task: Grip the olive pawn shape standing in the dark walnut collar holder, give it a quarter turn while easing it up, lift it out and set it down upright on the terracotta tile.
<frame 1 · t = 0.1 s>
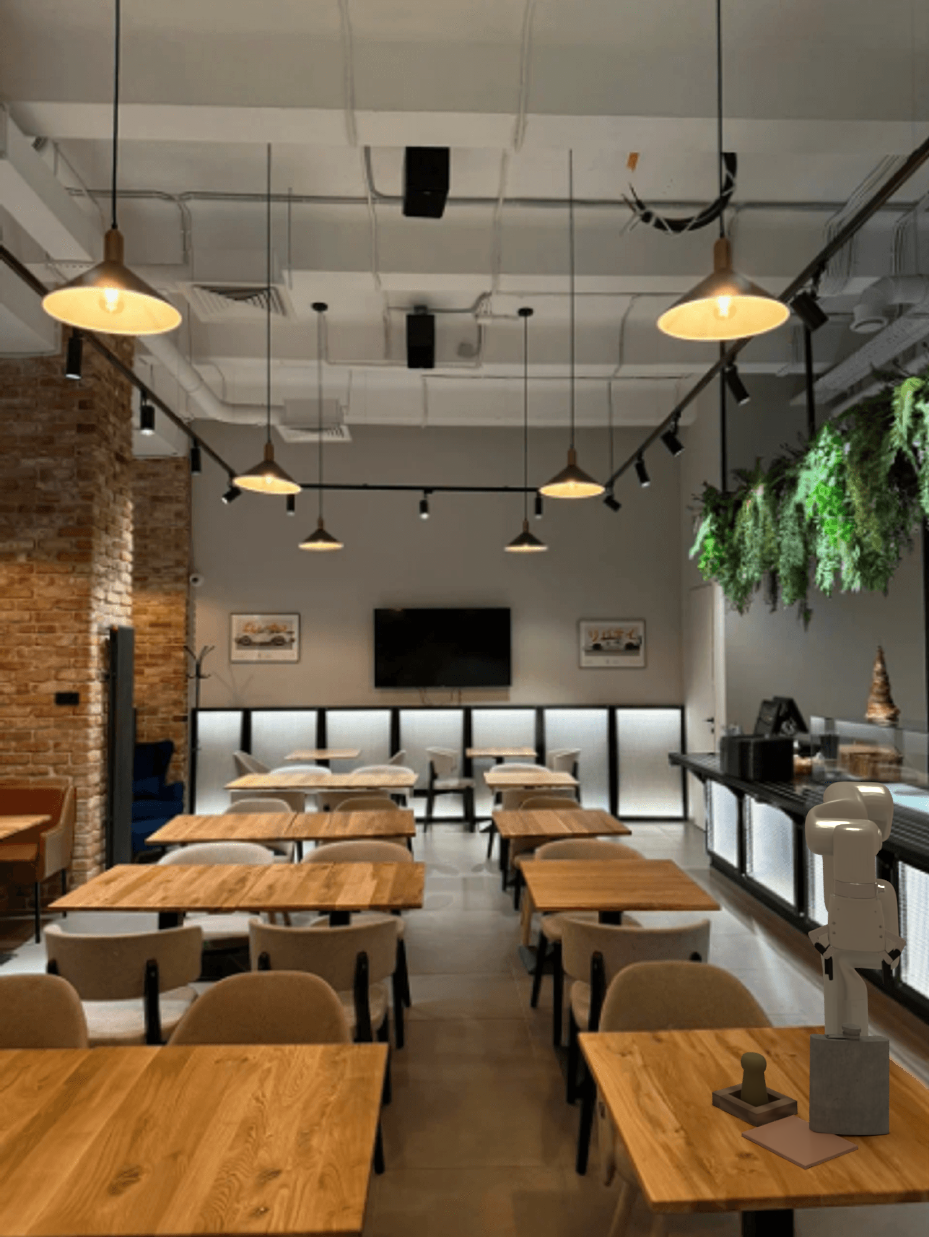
hand: (857, 980, 179), 31 cm above the table, tool pointing down, fingers open, 9 cm apart
terracotta tile: (799, 1142, 180), on the table
olive pawn shape: (754, 1109, 195), resting in collar holder
hip flask: (850, 1131, 184), on the table, touching terracotta tile
collar holder: (754, 1108, 195), on the table
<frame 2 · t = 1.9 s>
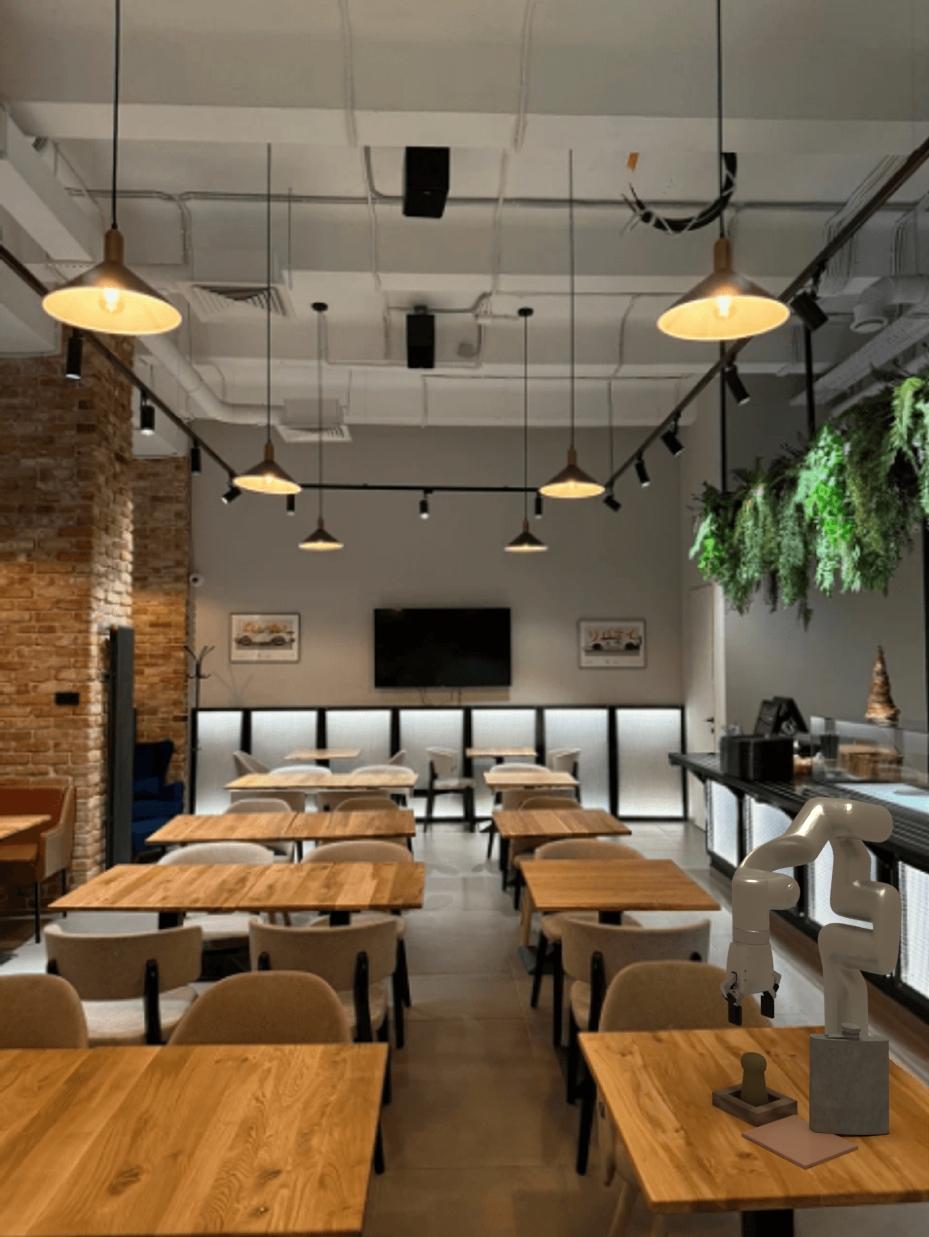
hand: (751, 1020, 196), 18 cm above the table, tool pointing down, fingers open, 9 cm apart
nothing on the table moved.
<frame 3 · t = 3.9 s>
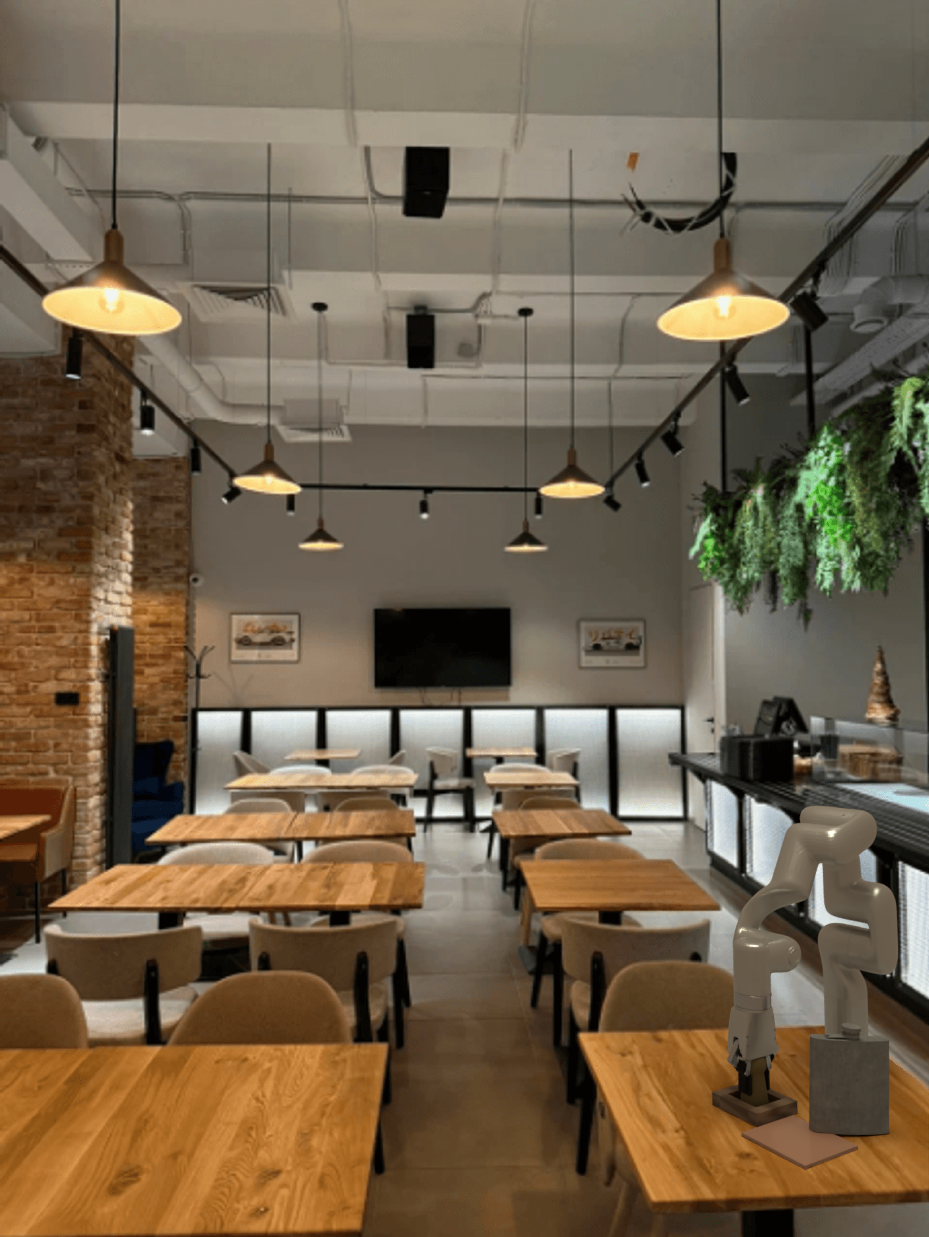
hand: (754, 1089, 195), 4 cm above the table, tool pointing down, fingers closed on olive pawn shape, 4 cm apart
olive pawn shape: (754, 1109, 195), resting in collar holder, touching gripper
everything else where it was.
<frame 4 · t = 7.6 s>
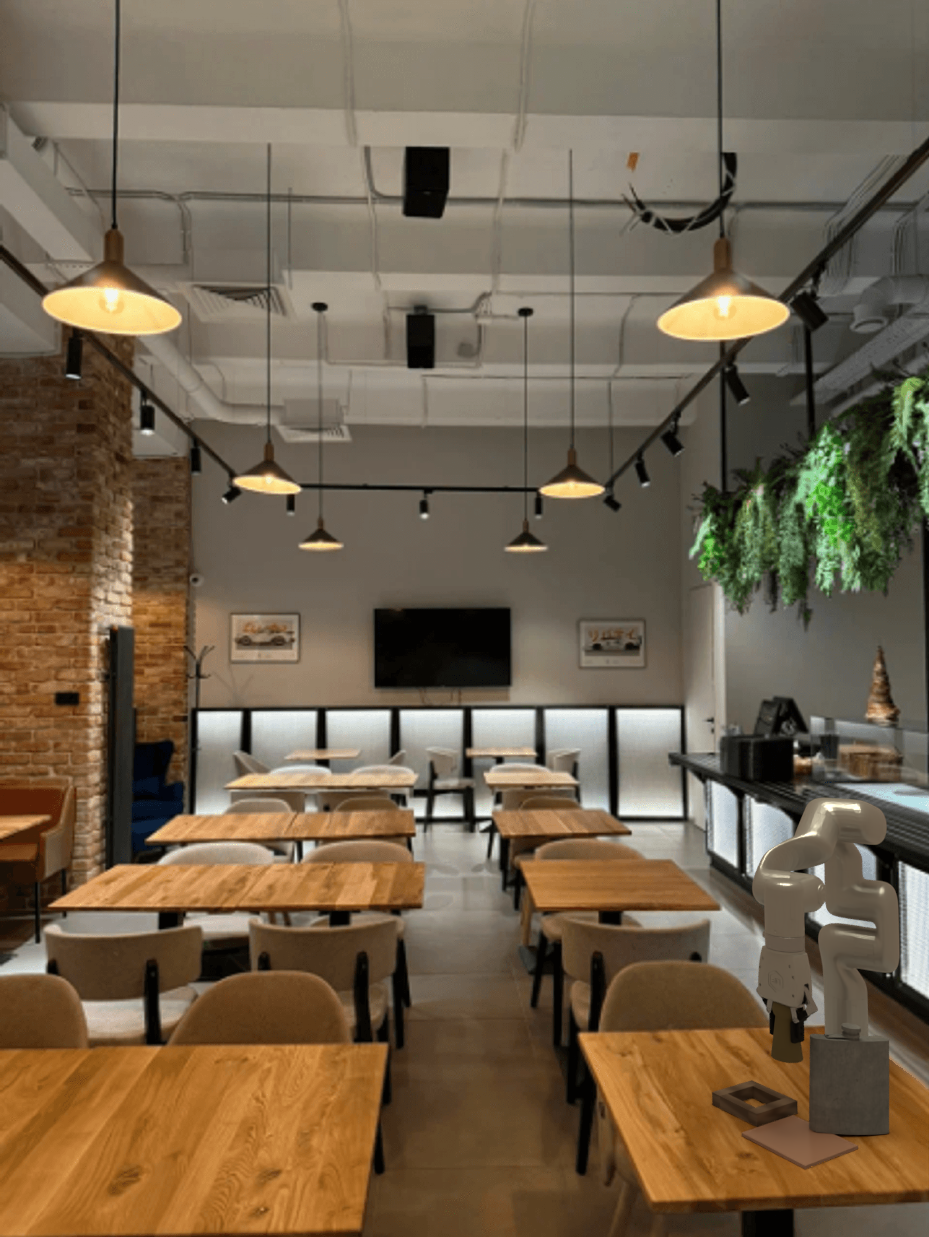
hand: (786, 1036, 185), 19 cm above the table, tool pointing down, fingers closed on olive pawn shape, 4 cm apart
olive pawn shape: (786, 1058, 184), point 15 cm above the table, touching gripper
everything else where it was.
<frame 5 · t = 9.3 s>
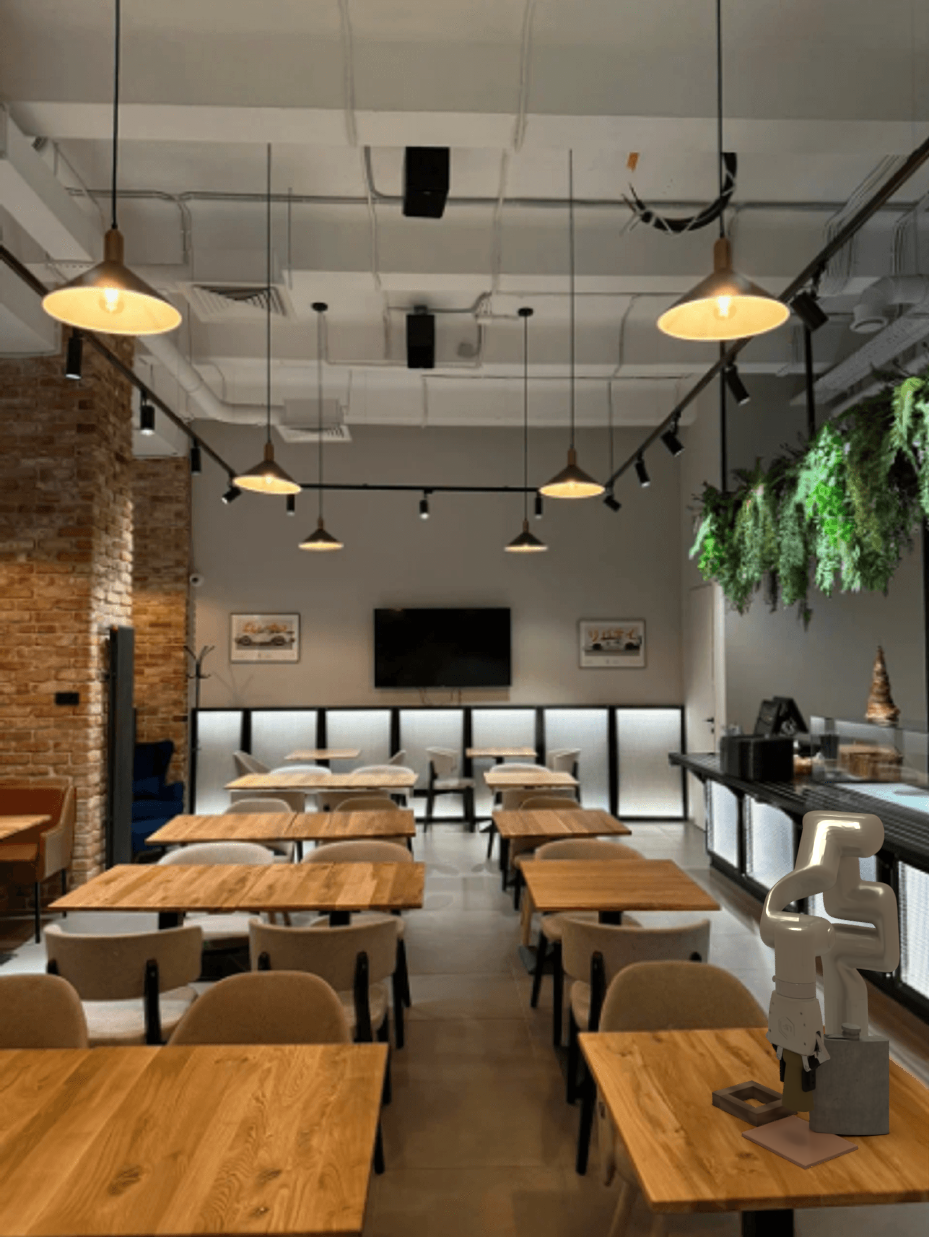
hand: (797, 1084, 181), 11 cm above the table, tool pointing down, fingers closed on olive pawn shape, 4 cm apart
olive pawn shape: (797, 1106, 181), point 7 cm above the table, touching gripper
everything else where it was.
when the fingers open (6 cm above the table, at t = 11.0 s): olive pawn shape drops 1 cm, resting on terracotta tile.
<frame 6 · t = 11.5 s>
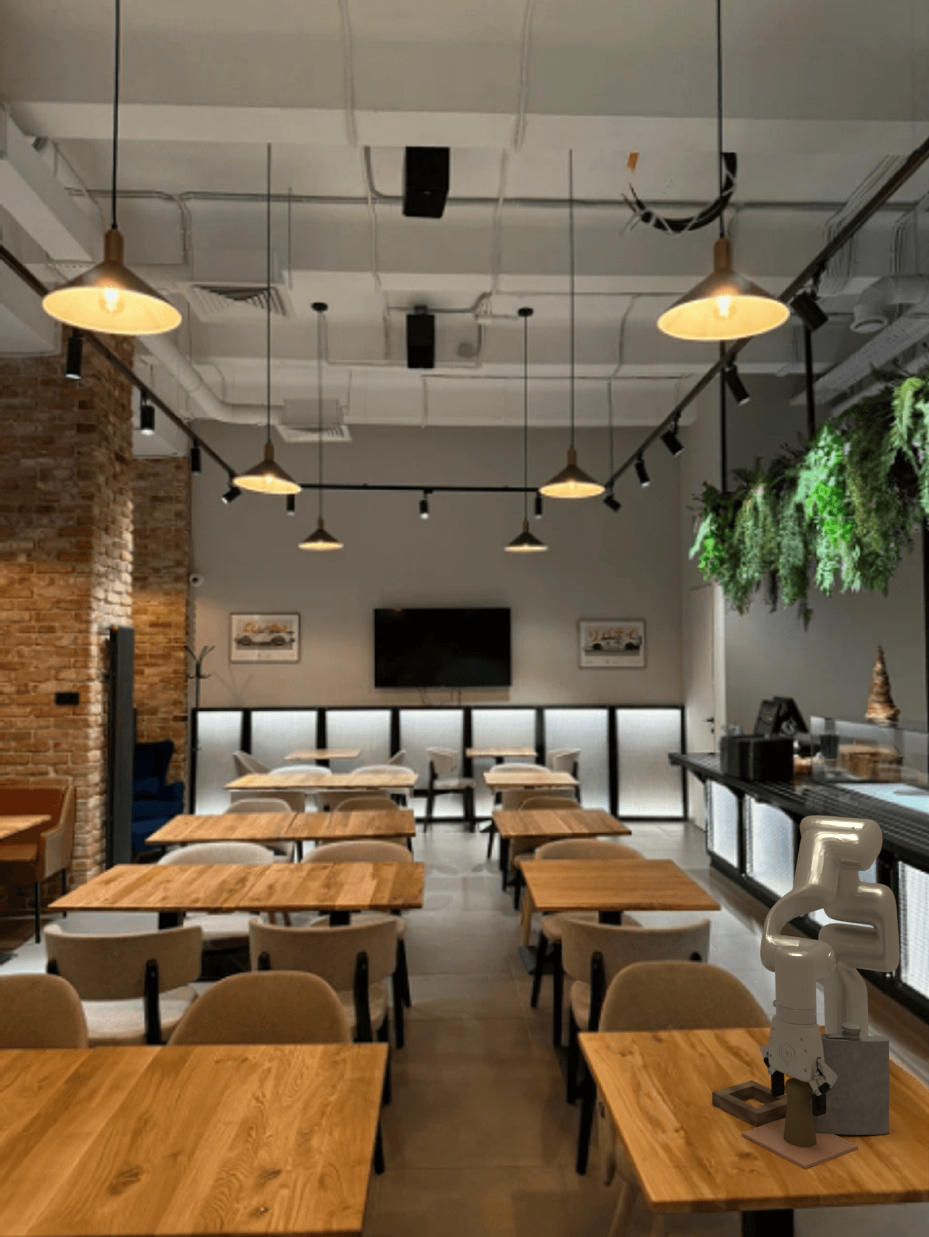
hand: (798, 1104, 181), 7 cm above the table, tool pointing down, fingers open, 9 cm apart
olive pawn shape: (799, 1140, 180), resting on terracotta tile
everything else where it was.
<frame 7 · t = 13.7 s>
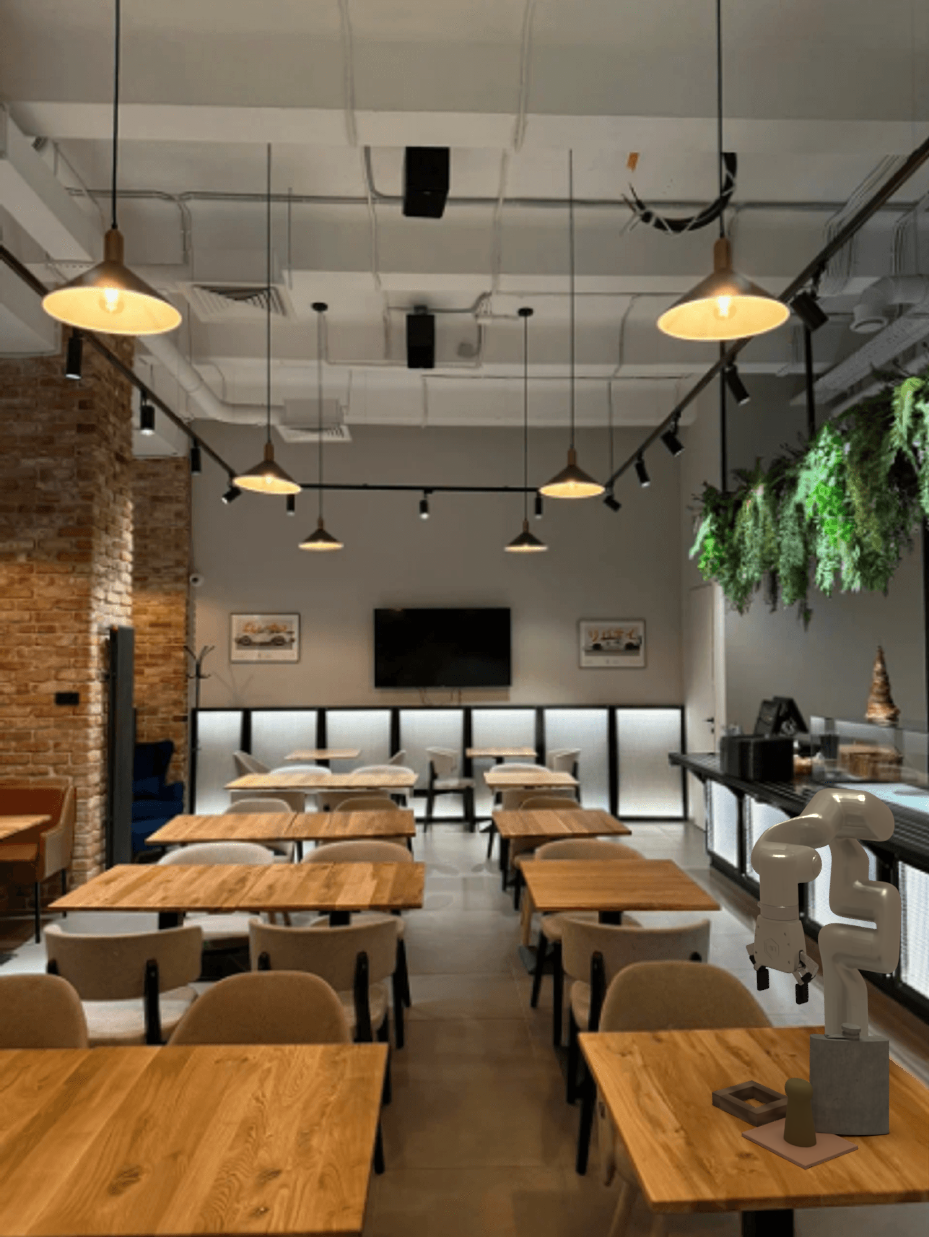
hand: (782, 996, 193), 24 cm above the table, tool pointing down, fingers open, 9 cm apart
nothing on the table moved.
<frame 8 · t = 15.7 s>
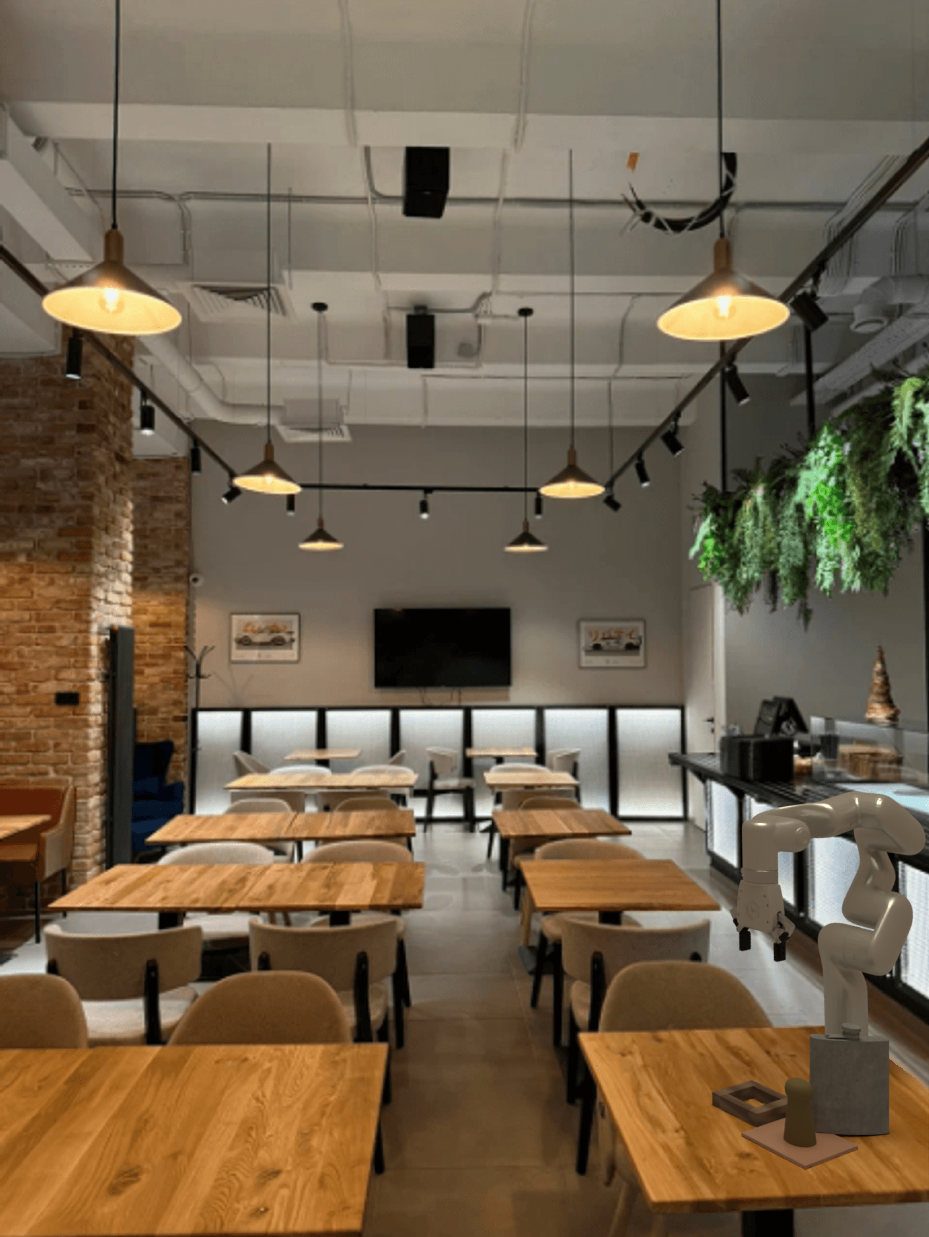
hand: (762, 955, 207), 28 cm above the table, tool pointing down, fingers open, 9 cm apart
nothing on the table moved.
at the end: olive pawn shape inside the target area on the terracotta tile (0.3 cm from its centre), point 0.4 cm above the terracotta tile's base; olive pawn shape tilted 0°; the gripper is holding nothing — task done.
